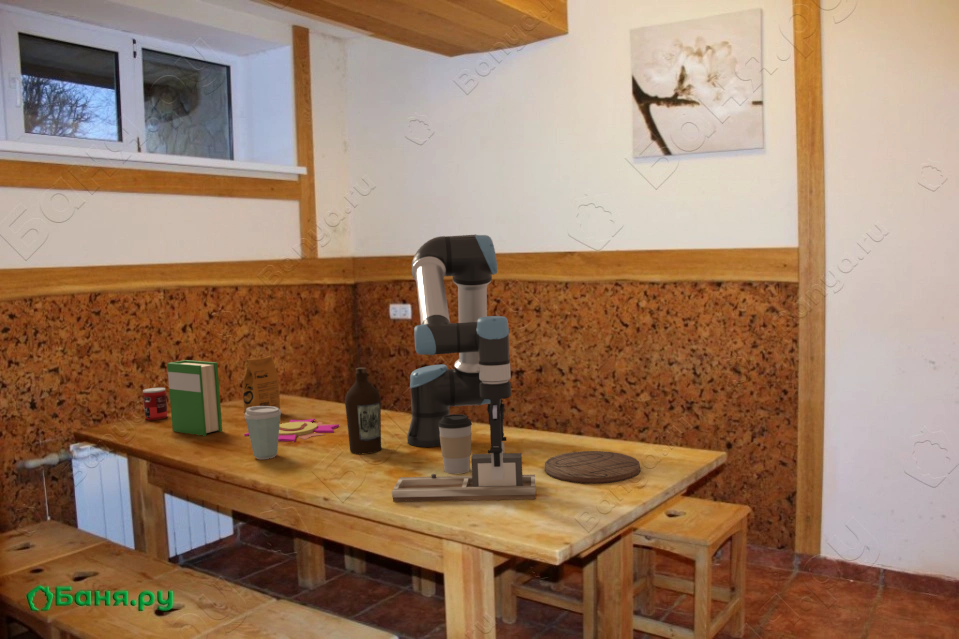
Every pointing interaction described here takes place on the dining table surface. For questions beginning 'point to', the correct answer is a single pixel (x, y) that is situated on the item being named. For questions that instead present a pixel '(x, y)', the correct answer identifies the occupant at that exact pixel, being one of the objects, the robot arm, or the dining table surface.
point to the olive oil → (363, 415)
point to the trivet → (592, 467)
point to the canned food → (155, 403)
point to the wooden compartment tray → (458, 489)
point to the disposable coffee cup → (263, 430)
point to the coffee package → (261, 384)
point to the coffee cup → (455, 443)
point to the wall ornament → (302, 429)
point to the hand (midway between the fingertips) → (498, 473)
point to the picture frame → (484, 470)
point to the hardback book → (194, 397)
